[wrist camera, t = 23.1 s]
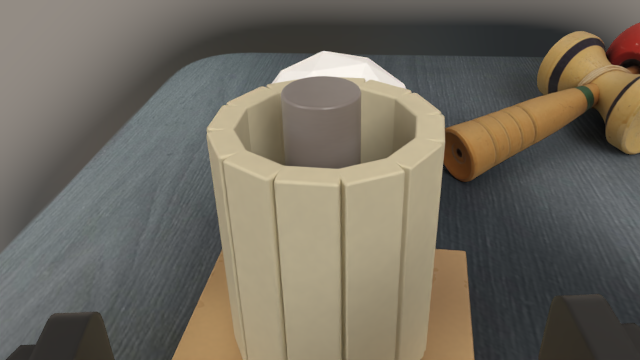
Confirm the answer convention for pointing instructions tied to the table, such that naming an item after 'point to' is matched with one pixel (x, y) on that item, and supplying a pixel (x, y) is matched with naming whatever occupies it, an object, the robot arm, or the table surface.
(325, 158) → the stand
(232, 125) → the beige grooved cup
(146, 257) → the table surface
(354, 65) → the ball
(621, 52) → the kendama
